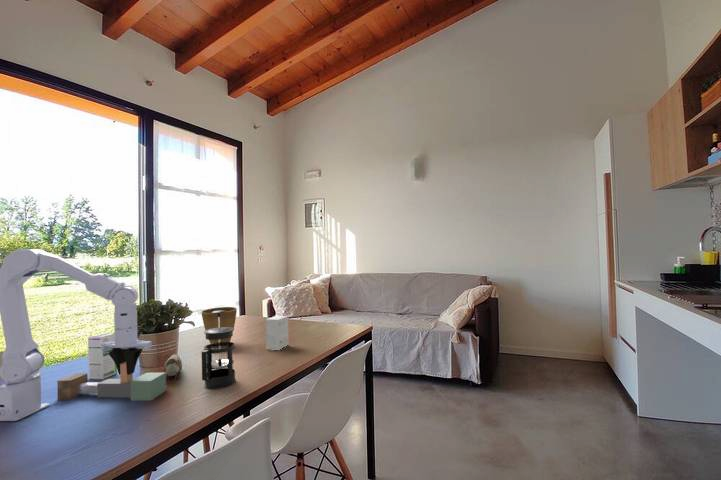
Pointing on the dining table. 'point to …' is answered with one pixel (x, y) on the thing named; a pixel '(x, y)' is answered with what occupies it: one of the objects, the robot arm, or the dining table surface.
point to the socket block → (148, 386)
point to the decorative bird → (173, 366)
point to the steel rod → (87, 388)
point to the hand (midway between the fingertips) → (126, 373)
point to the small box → (277, 332)
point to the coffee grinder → (221, 374)
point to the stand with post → (116, 385)
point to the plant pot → (225, 320)
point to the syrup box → (100, 357)
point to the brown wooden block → (70, 386)
